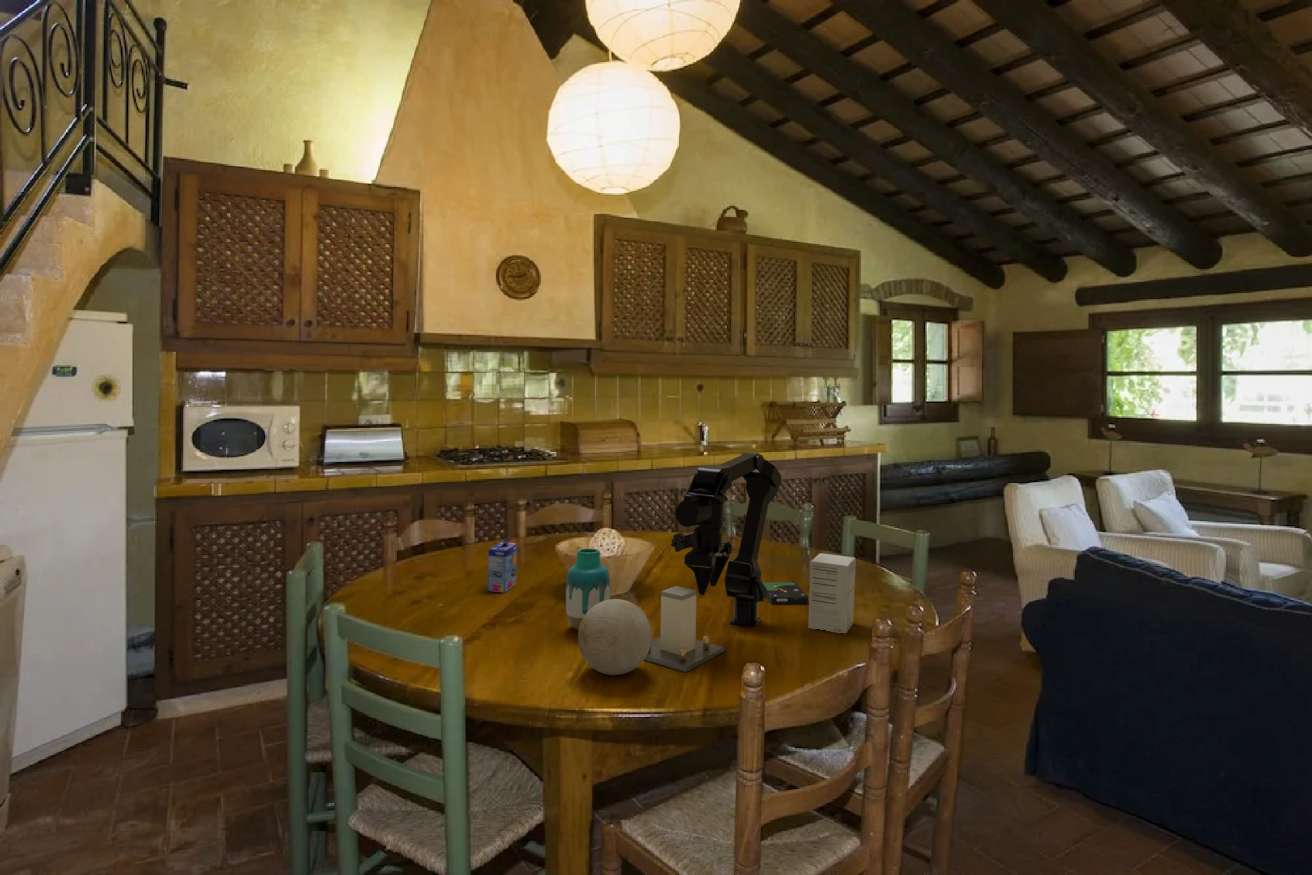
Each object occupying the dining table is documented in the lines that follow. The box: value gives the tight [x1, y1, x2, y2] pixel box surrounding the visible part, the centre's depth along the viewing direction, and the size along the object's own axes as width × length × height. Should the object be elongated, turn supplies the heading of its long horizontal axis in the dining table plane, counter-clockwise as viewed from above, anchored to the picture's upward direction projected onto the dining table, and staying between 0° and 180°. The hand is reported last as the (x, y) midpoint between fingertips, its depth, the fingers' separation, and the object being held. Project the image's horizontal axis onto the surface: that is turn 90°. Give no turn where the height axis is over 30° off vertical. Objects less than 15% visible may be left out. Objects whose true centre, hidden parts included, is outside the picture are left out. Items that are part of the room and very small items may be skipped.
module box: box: [660, 585, 697, 655], centre depth 165 cm, size 6×6×13 cm
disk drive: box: [762, 581, 809, 606], centre depth 210 cm, size 10×3×15 cm
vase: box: [565, 547, 611, 631], centre depth 180 cm, size 11×11×19 cm
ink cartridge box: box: [487, 536, 518, 594], centre depth 214 cm, size 10×6×14 cm, turn 170°
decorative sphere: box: [577, 598, 652, 676], centre depth 154 cm, size 15×15×15 cm
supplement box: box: [807, 553, 856, 634], centre depth 185 cm, size 10×9×17 cm
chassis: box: [643, 635, 725, 673], centre depth 166 cm, size 15×15×4 cm
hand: (707, 590), depth 171 cm, fingers open, 9 cm apart
